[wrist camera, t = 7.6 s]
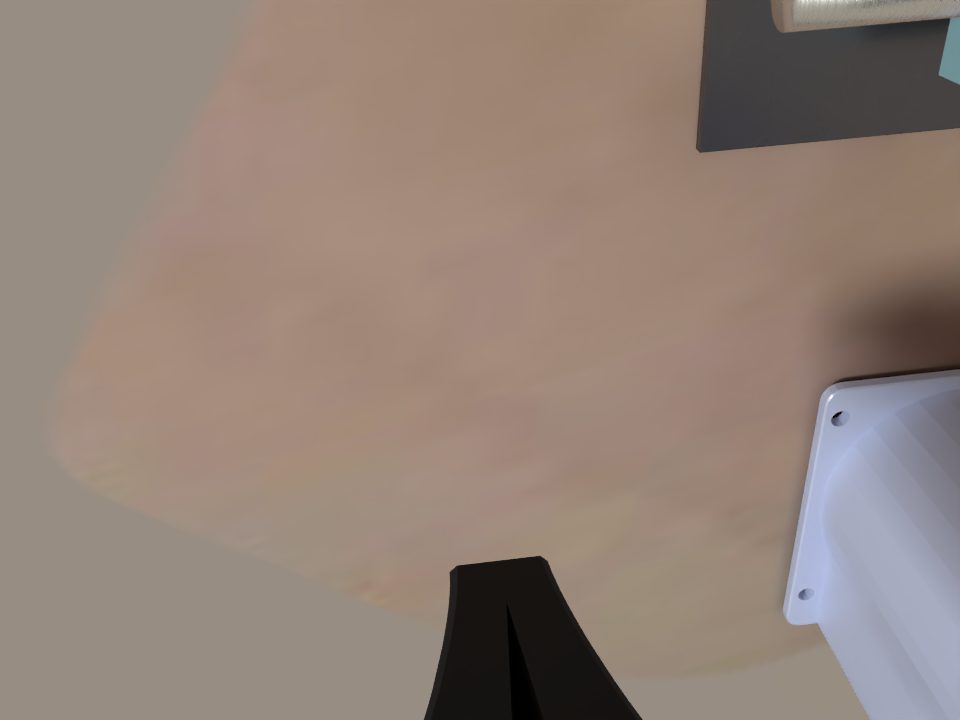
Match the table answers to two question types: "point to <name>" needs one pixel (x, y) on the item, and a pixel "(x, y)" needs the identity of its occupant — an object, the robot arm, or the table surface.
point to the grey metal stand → (823, 71)
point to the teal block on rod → (952, 53)
